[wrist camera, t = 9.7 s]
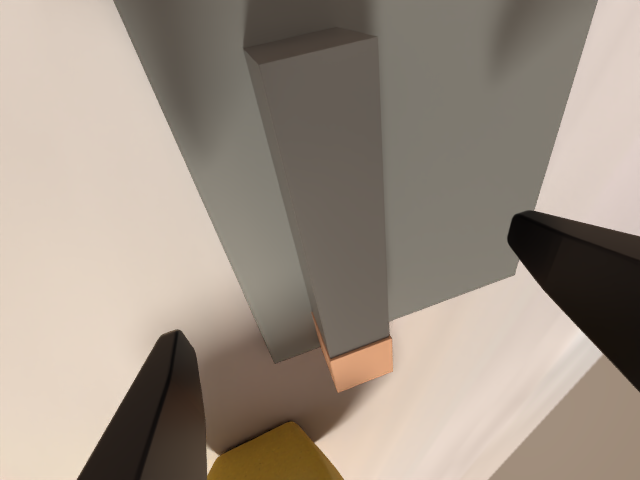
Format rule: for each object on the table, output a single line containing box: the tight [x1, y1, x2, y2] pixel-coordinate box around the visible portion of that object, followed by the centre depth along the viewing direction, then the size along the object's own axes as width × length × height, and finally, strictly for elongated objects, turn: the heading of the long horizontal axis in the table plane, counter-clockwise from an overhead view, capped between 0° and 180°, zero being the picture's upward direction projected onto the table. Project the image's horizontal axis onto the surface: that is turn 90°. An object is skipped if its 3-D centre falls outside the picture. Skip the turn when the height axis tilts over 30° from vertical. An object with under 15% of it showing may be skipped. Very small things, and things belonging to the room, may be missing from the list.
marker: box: [243, 27, 393, 393], centre depth 11 cm, size 2×12×2 cm, turn 9°
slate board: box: [113, 0, 598, 364], centre depth 12 cm, size 13×15×1 cm
